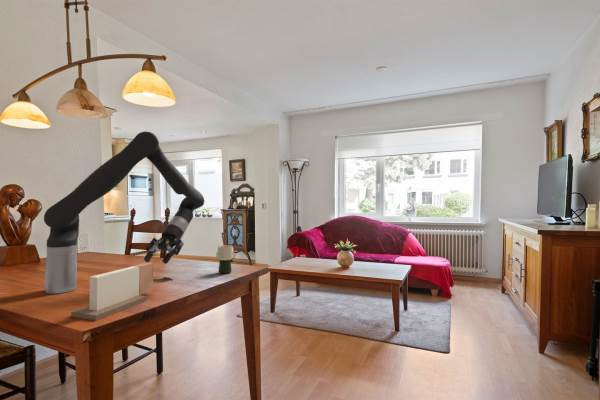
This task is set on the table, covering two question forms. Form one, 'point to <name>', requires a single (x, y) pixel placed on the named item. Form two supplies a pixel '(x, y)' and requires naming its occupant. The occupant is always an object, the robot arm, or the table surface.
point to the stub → (145, 277)
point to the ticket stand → (111, 294)
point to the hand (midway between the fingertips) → (155, 261)
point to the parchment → (160, 280)
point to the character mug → (225, 258)
